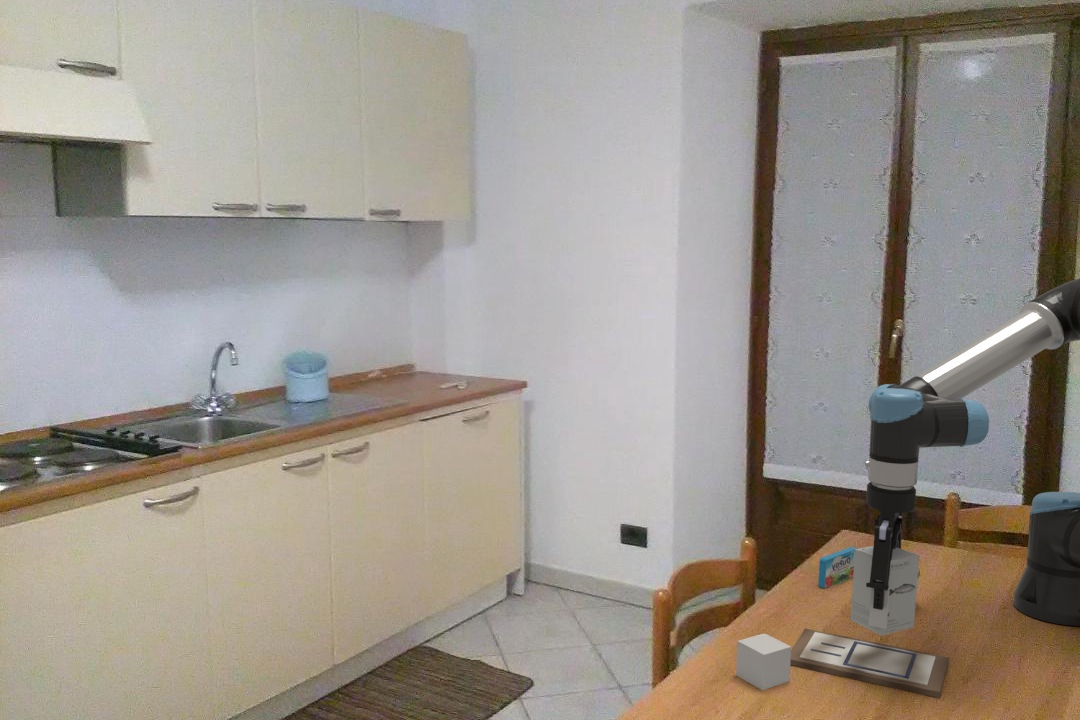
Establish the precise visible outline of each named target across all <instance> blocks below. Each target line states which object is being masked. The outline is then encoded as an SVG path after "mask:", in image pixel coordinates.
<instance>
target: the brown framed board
mask: <svg viewBox="0 0 1080 720" xmlns="http://www.w3.org/2000/svg"><path fill="white" fill-rule="evenodd" d="M949 661H950V657H947V656H944V655H938V654H933V653H929V652H923V651H919V650H915V649H914V650H913V649H908V648H904V647H900V646H899V647H898V646H895V645H888V644H884V643H878V642H874V641H868V640H864V639H859V638H854V637H849V636H845V635H840V634H837V633H831V632H830V633H829V632H824V631H821V630H815V629H811V628H807V627H805V628H804V629H803V631H802V632H801V634H800V636H799V637H798V639H797V640H796V642H795V643H794V645H793V647H791V661H790V666H793V667H798V668H801V669H802V668H803V669H807V670H811V671H816V672H821V673H825V674H829V675H834V676H839V677H842V678H848V679H852V680H855V681H860V682H865V683H869V684H874V685H879V686H884V687H888V688H893V689H897V690H902V691H904V692H905V691H906V692H910V693H914V694H919V695H923V696H928V697H932V698H937V699H940V697H941V693H942V690H943V686H944V682H945V678H946V675H947V671H948V666H949Z"/></svg>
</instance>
